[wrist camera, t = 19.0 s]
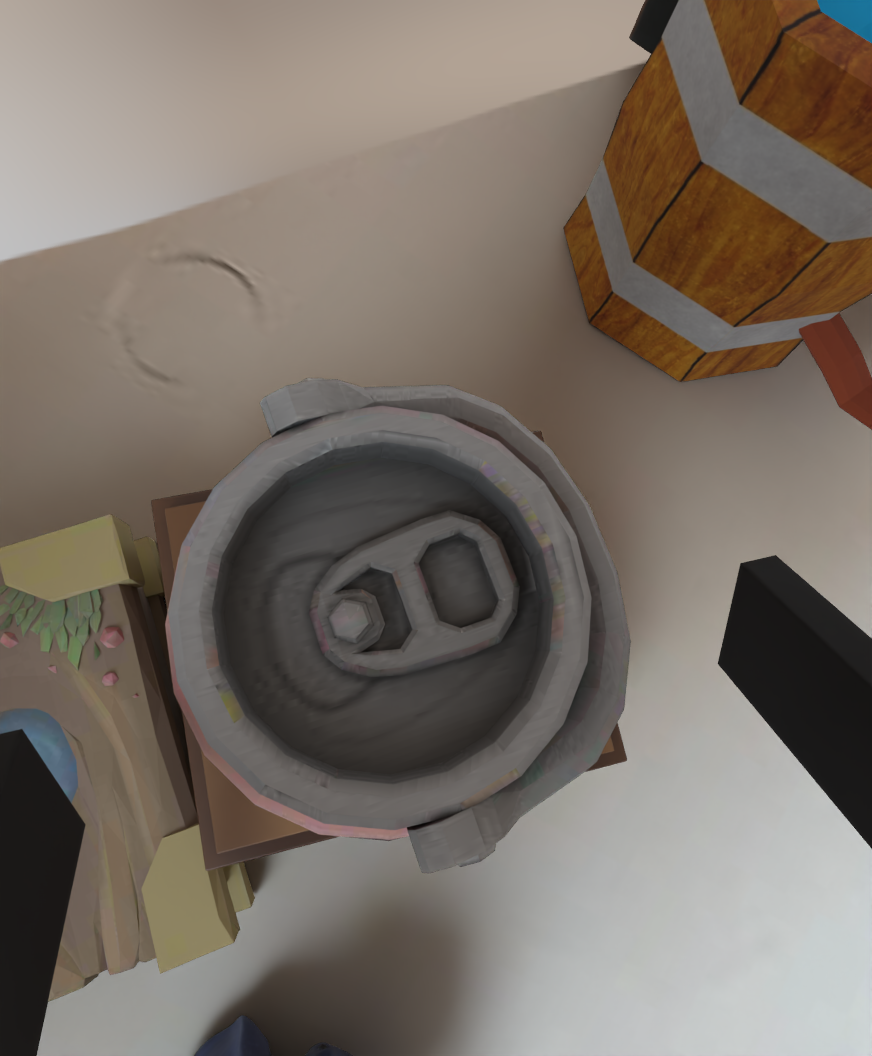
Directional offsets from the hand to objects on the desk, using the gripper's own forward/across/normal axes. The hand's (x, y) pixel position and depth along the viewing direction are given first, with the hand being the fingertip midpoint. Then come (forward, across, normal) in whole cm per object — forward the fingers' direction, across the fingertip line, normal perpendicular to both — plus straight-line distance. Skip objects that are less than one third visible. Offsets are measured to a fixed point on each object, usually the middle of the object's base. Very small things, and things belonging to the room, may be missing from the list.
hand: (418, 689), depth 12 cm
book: (+11, -13, -11) cm, 20 cm away
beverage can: (+8, 0, -6) cm, 10 cm away
